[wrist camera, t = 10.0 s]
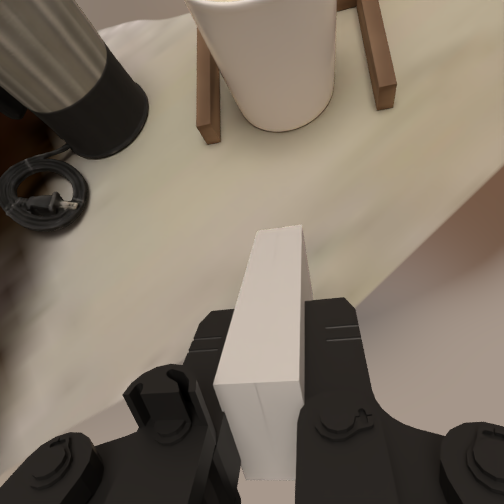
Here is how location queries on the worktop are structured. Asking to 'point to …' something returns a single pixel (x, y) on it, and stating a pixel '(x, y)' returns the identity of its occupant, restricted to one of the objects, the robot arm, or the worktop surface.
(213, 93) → the walnut bay
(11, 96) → the milk frother
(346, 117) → the worktop surface
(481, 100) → the worktop surface
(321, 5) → the candle holder
